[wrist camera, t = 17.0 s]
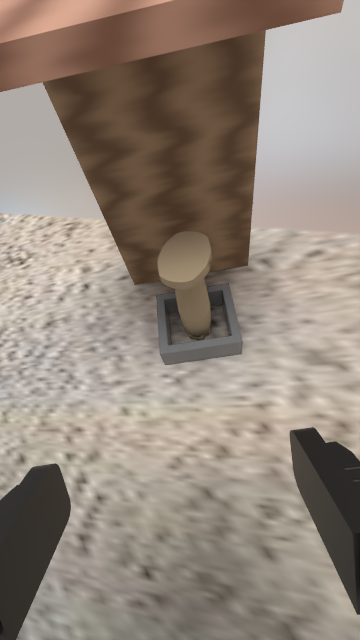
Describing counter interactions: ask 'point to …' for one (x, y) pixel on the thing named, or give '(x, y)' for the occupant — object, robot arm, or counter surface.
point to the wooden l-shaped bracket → (156, 108)
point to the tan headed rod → (188, 279)
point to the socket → (203, 347)
